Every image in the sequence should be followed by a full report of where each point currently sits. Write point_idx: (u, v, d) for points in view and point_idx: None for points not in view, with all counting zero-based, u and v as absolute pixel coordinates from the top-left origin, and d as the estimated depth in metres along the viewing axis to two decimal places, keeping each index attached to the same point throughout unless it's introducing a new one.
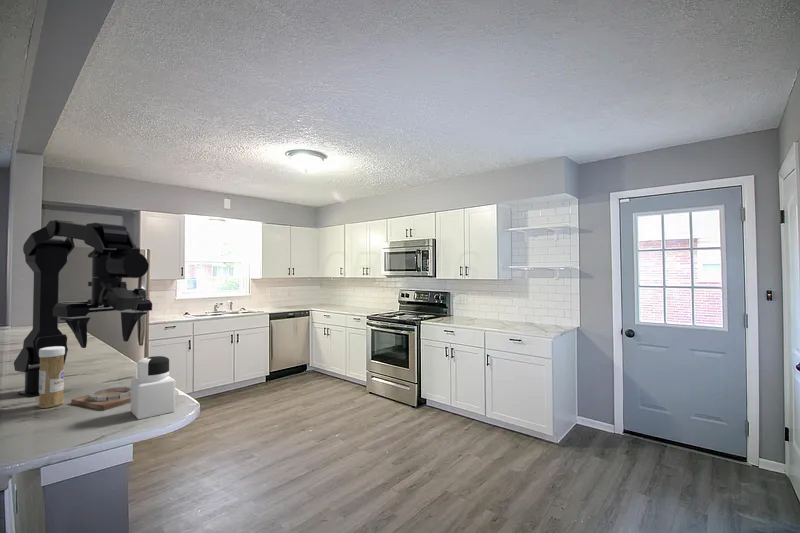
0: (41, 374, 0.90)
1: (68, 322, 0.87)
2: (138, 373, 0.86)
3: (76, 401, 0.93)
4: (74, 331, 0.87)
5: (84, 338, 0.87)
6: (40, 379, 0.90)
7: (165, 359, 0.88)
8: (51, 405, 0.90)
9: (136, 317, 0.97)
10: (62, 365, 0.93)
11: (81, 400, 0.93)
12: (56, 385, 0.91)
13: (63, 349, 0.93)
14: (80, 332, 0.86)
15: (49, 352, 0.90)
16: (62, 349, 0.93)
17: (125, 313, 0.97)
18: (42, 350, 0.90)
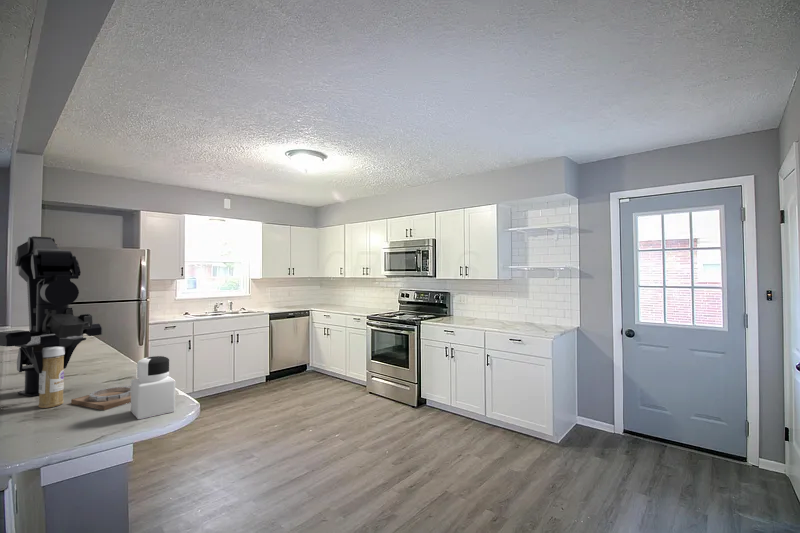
0: (41, 374, 0.90)
1: (24, 348, 0.89)
2: (138, 373, 0.86)
3: (76, 401, 0.93)
4: (30, 357, 0.89)
5: (39, 363, 0.89)
6: (40, 379, 0.90)
7: (165, 359, 0.88)
8: (51, 405, 0.90)
9: (73, 343, 0.95)
10: (62, 365, 0.93)
11: (81, 400, 0.93)
12: (56, 385, 0.91)
13: (63, 349, 0.93)
14: (35, 358, 0.89)
15: (49, 352, 0.90)
16: (62, 349, 0.93)
17: (63, 339, 0.95)
18: (42, 350, 0.90)
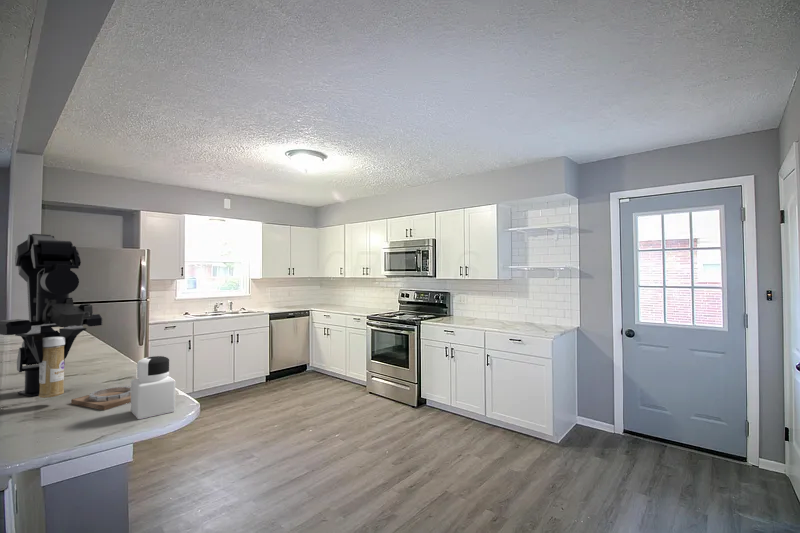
0: (41, 364, 0.90)
1: (24, 338, 0.89)
2: (138, 373, 0.86)
3: (76, 401, 0.93)
4: (30, 346, 0.89)
5: (40, 353, 0.89)
6: (40, 369, 0.90)
7: (165, 359, 0.88)
8: (51, 395, 0.90)
9: (73, 333, 0.95)
10: (62, 355, 0.93)
11: (81, 400, 0.93)
12: (57, 375, 0.91)
13: (63, 339, 0.93)
14: (35, 347, 0.89)
15: (49, 342, 0.90)
16: (62, 339, 0.93)
17: (63, 330, 0.95)
18: (42, 340, 0.90)
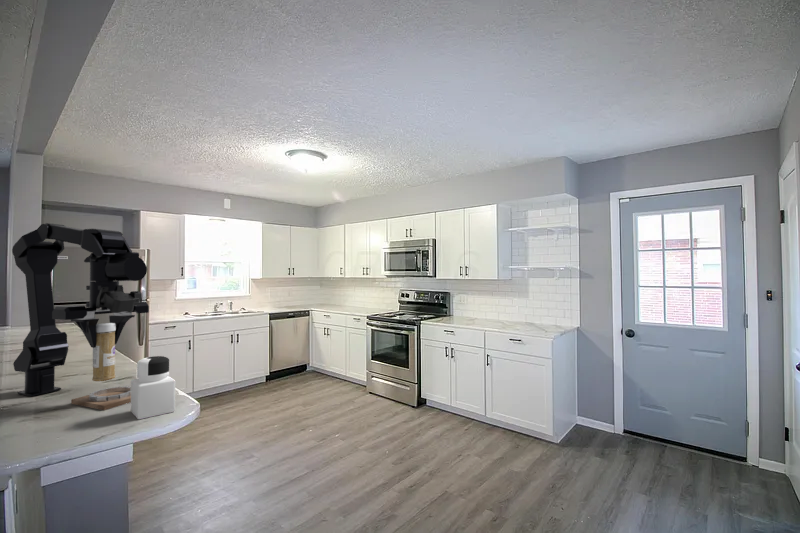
0: (95, 349, 0.93)
1: (78, 323, 0.93)
2: (138, 373, 0.86)
3: (76, 401, 0.93)
4: (84, 332, 0.93)
5: (94, 338, 0.93)
6: (94, 353, 0.94)
7: (165, 359, 0.88)
8: (104, 378, 0.94)
9: (123, 320, 0.98)
10: (114, 341, 0.96)
11: (81, 400, 0.93)
12: (109, 359, 0.95)
13: (114, 325, 0.96)
14: (90, 332, 0.92)
15: (102, 328, 0.94)
16: (114, 325, 0.96)
17: (113, 316, 0.99)
18: (96, 325, 0.94)
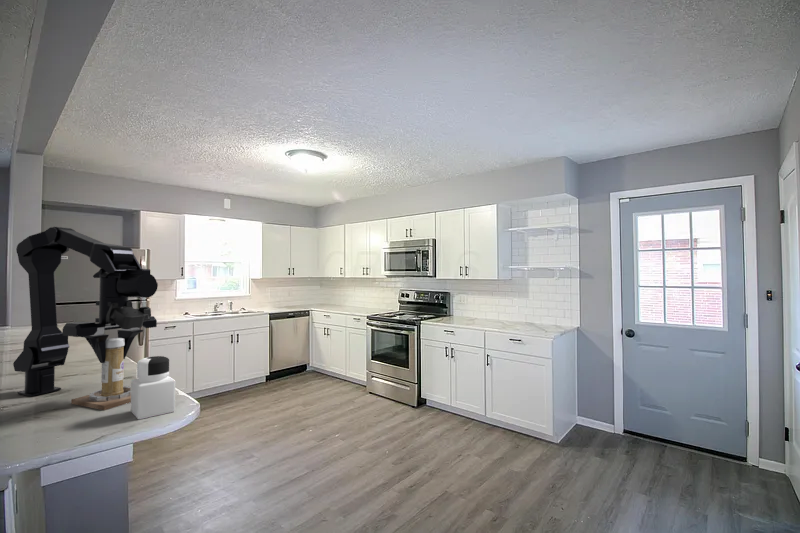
0: (104, 364, 0.94)
1: (88, 339, 0.93)
2: (138, 373, 0.86)
3: (76, 401, 0.93)
4: (93, 347, 0.94)
5: (103, 353, 0.94)
6: (103, 369, 0.94)
7: (165, 359, 0.88)
8: (113, 394, 0.95)
9: (132, 335, 0.99)
10: (122, 356, 0.97)
11: (81, 400, 0.93)
12: (118, 375, 0.95)
13: (123, 340, 0.97)
14: (99, 348, 0.93)
15: (112, 343, 0.94)
16: (123, 340, 0.97)
17: (122, 331, 1.00)
18: None
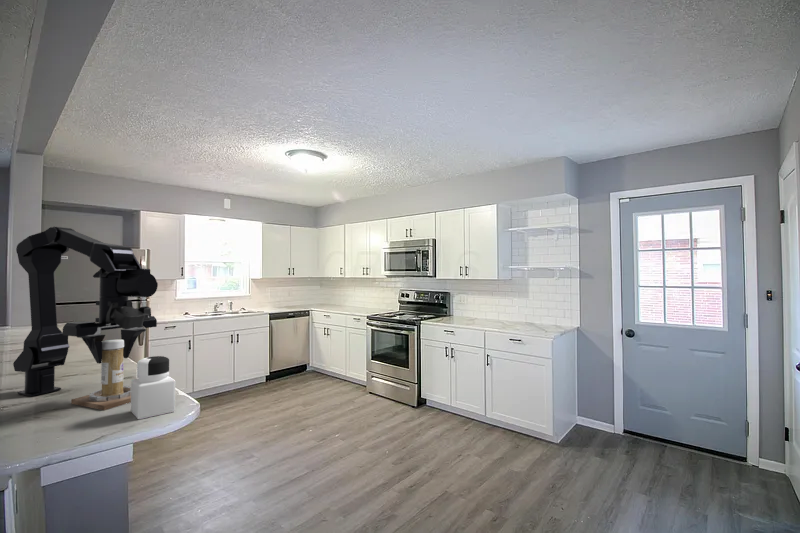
0: (104, 365, 0.94)
1: (84, 339, 0.93)
2: (138, 373, 0.86)
3: (76, 401, 0.93)
4: (90, 348, 0.93)
5: (100, 354, 0.93)
6: (103, 370, 0.94)
7: (165, 359, 0.88)
8: None
9: (135, 334, 0.99)
10: (122, 357, 0.97)
11: (81, 400, 0.93)
12: (118, 376, 0.95)
13: (123, 342, 0.97)
14: (96, 349, 0.92)
15: (111, 345, 0.94)
16: (122, 342, 0.97)
17: (125, 330, 1.00)
18: (105, 343, 0.94)
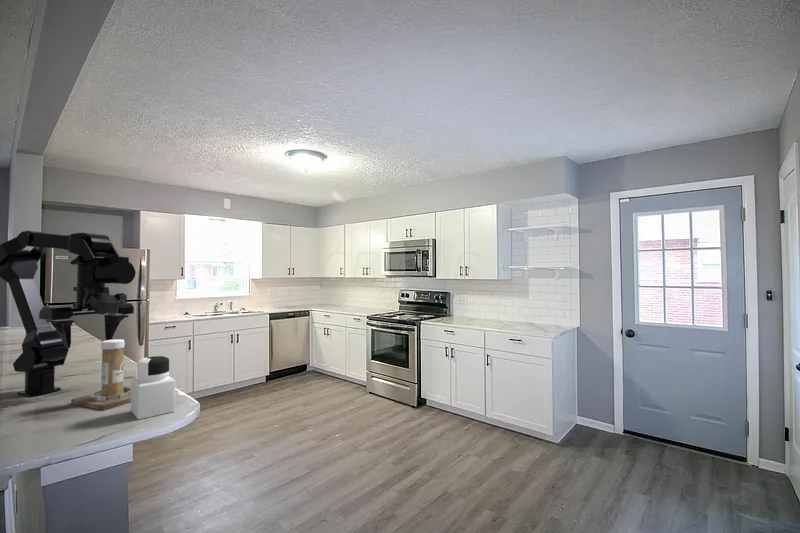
0: (104, 365, 0.94)
1: (54, 324, 0.95)
2: (138, 373, 0.86)
3: (76, 401, 0.93)
4: (59, 332, 0.95)
5: (68, 339, 0.95)
6: (103, 370, 0.94)
7: (165, 359, 0.88)
8: None
9: (118, 319, 1.04)
10: (122, 357, 0.97)
11: (81, 400, 0.93)
12: (118, 376, 0.95)
13: (123, 342, 0.97)
14: (64, 333, 0.94)
15: (112, 345, 0.94)
16: (122, 342, 0.97)
17: (108, 316, 1.05)
18: (105, 343, 0.94)
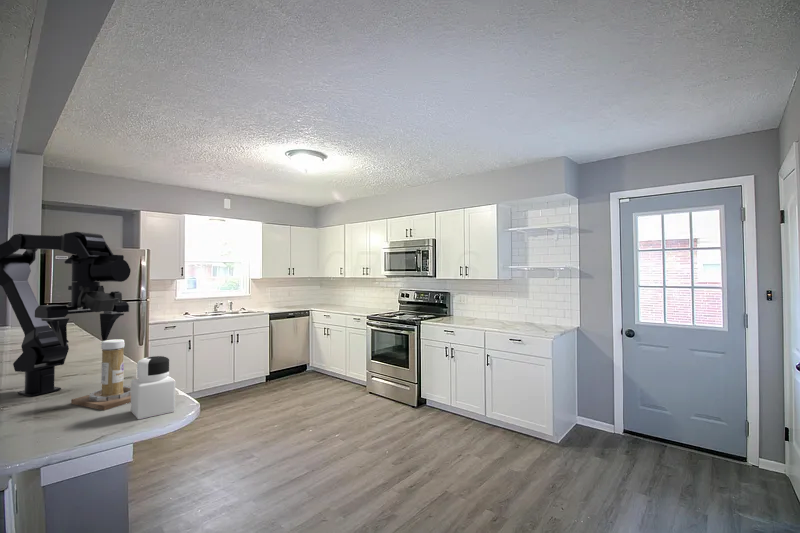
0: (104, 365, 0.94)
1: (49, 323, 0.95)
2: (138, 373, 0.86)
3: (76, 401, 0.93)
4: (55, 331, 0.96)
5: (64, 337, 0.96)
6: (103, 370, 0.94)
7: (165, 359, 0.88)
8: None
9: (113, 318, 1.05)
10: (122, 357, 0.97)
11: (81, 400, 0.93)
12: (118, 376, 0.95)
13: (123, 342, 0.97)
14: (60, 332, 0.95)
15: (112, 345, 0.94)
16: (123, 342, 0.97)
17: (104, 314, 1.06)
18: (105, 343, 0.94)
